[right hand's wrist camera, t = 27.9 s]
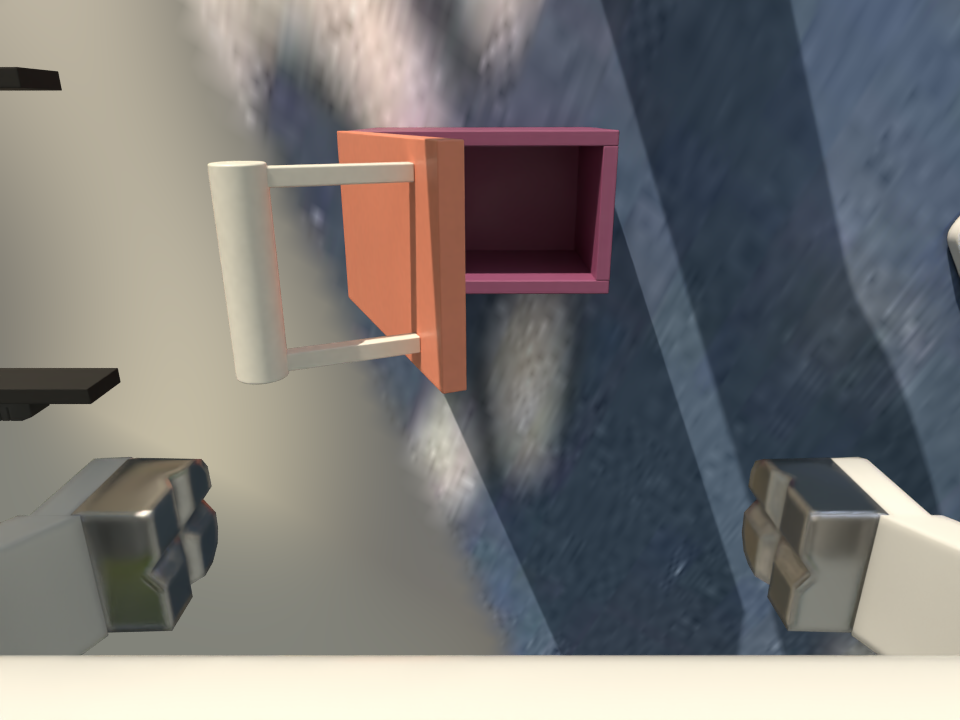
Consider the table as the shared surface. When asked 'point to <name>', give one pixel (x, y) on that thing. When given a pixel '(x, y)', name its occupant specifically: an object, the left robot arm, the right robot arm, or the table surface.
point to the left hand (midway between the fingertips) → (76, 244)
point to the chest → (535, 207)
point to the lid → (355, 255)
